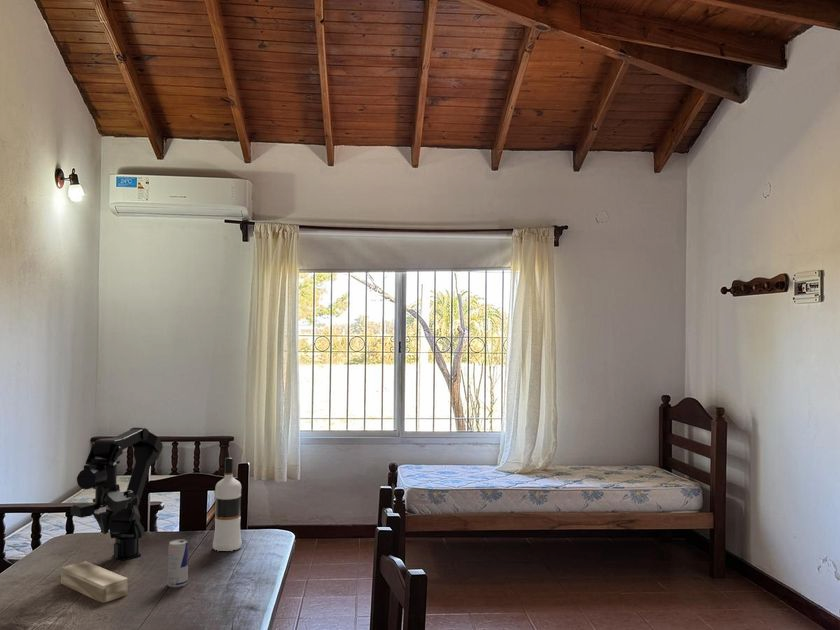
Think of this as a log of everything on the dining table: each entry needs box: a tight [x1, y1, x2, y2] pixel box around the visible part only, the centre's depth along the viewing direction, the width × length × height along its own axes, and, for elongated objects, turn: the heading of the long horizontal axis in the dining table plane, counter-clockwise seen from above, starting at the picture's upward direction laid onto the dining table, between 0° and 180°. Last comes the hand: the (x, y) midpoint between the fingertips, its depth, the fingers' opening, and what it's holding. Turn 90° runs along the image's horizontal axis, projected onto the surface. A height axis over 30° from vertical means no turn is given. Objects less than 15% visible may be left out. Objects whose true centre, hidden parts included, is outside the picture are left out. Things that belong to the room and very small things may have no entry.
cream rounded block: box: [60, 560, 129, 604], centre depth 190 cm, size 7×22×4 cm, turn 54°
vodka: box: [212, 456, 243, 552], centre depth 227 cm, size 9×9×30 cm
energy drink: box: [167, 538, 189, 588], centre depth 194 cm, size 5×5×12 cm
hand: (105, 533), depth 204 cm, fingers closed
